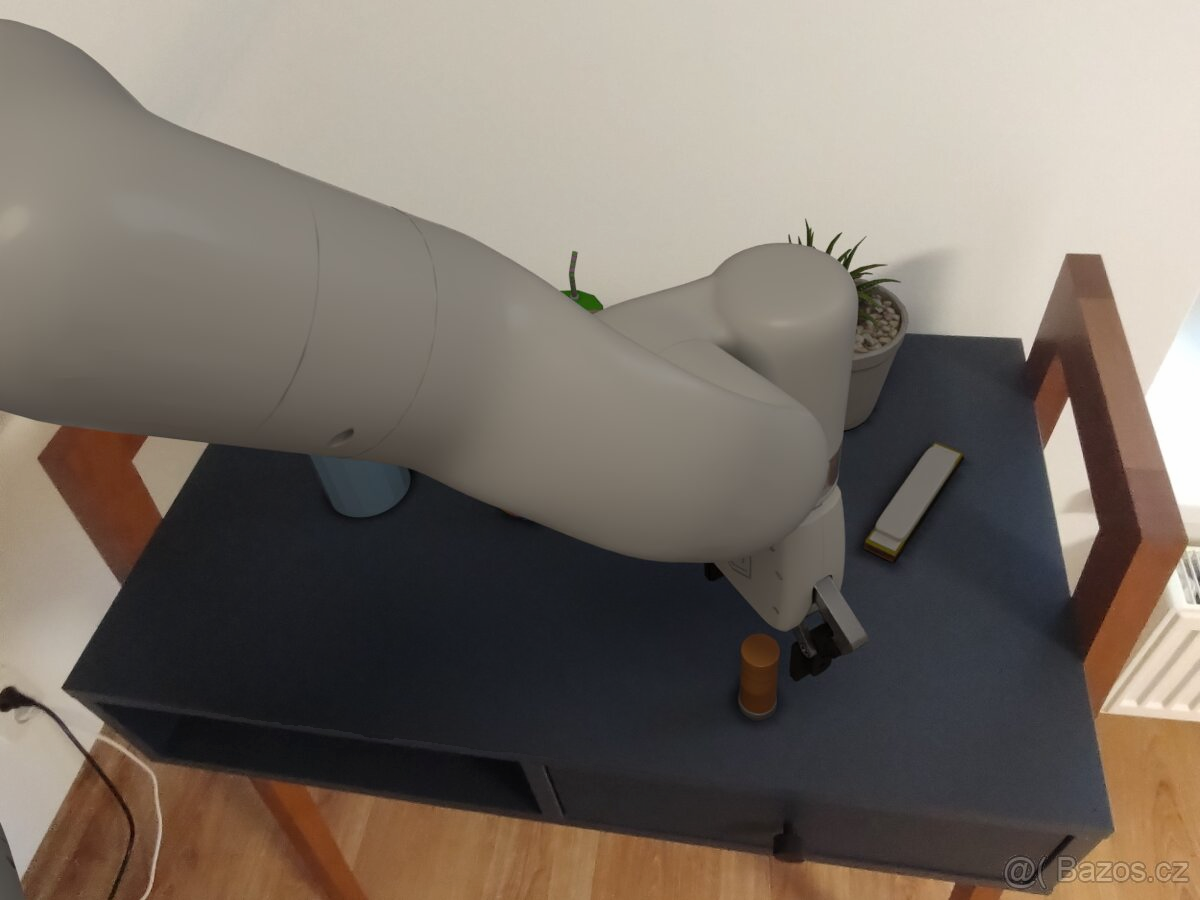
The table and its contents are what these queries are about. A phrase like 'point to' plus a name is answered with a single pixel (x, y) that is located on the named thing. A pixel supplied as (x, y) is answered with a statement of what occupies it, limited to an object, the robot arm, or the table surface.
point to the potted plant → (869, 336)
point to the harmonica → (913, 502)
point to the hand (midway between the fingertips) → (765, 617)
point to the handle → (758, 677)
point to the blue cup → (360, 484)
